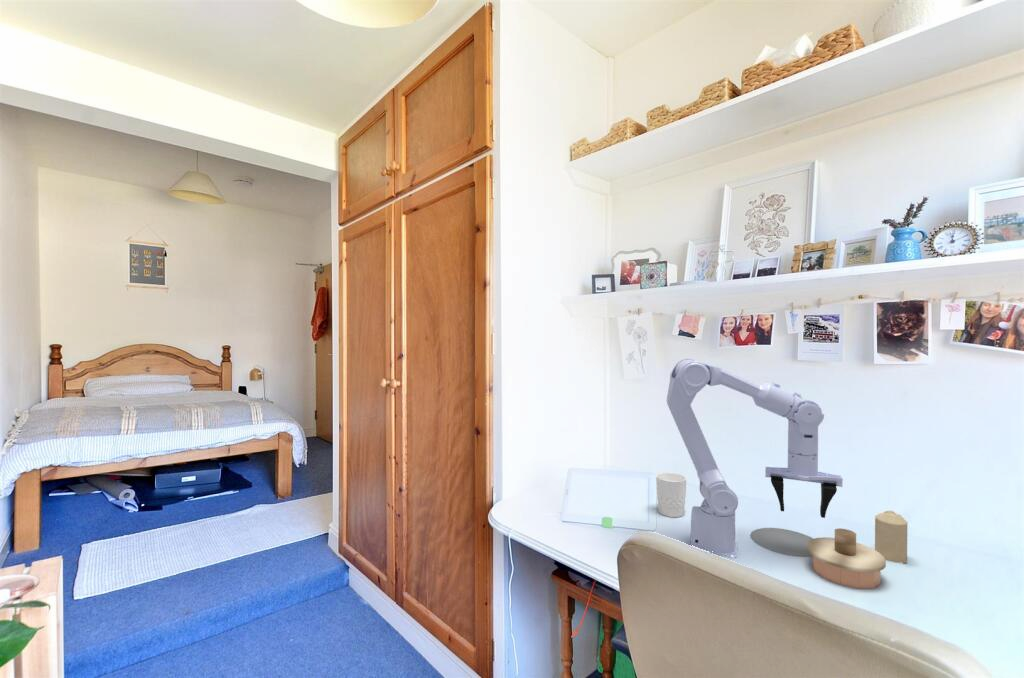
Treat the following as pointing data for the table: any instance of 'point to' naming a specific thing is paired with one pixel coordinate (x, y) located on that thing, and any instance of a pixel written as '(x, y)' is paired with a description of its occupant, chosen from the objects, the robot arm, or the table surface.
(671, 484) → the white cup
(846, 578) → the bowl
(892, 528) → the candle
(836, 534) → the lid
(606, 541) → the table surface
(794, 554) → the mat
